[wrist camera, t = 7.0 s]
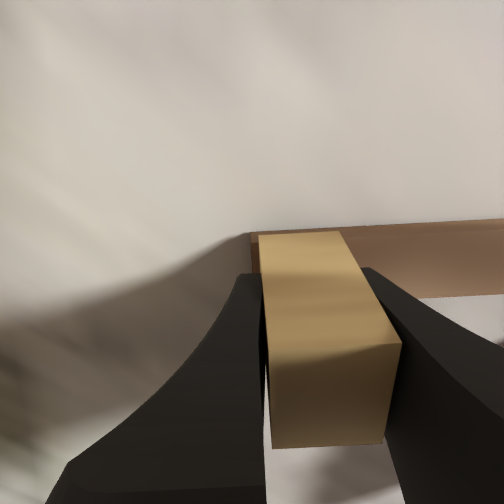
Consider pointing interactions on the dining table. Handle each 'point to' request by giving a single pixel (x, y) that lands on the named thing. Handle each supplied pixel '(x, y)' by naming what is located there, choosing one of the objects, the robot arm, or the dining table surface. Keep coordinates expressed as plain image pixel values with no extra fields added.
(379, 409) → the wooden t-shaped handle
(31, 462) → the dining table surface
